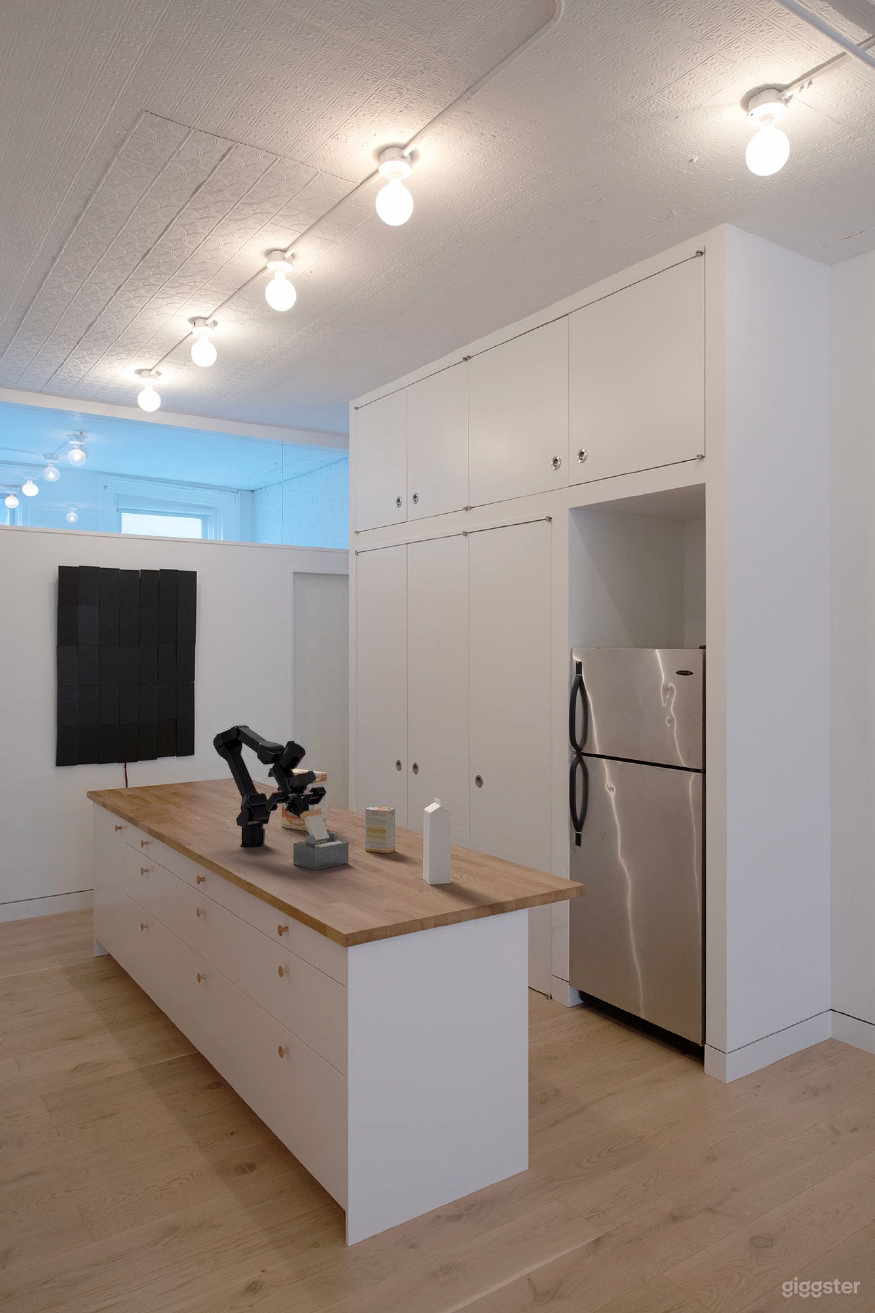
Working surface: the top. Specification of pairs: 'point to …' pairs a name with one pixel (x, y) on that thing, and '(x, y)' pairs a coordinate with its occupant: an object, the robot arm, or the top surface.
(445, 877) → the milk
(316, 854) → the box
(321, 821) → the lever
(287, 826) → the coffeecake box
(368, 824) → the supplement box
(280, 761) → the robot arm
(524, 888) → the top surface
